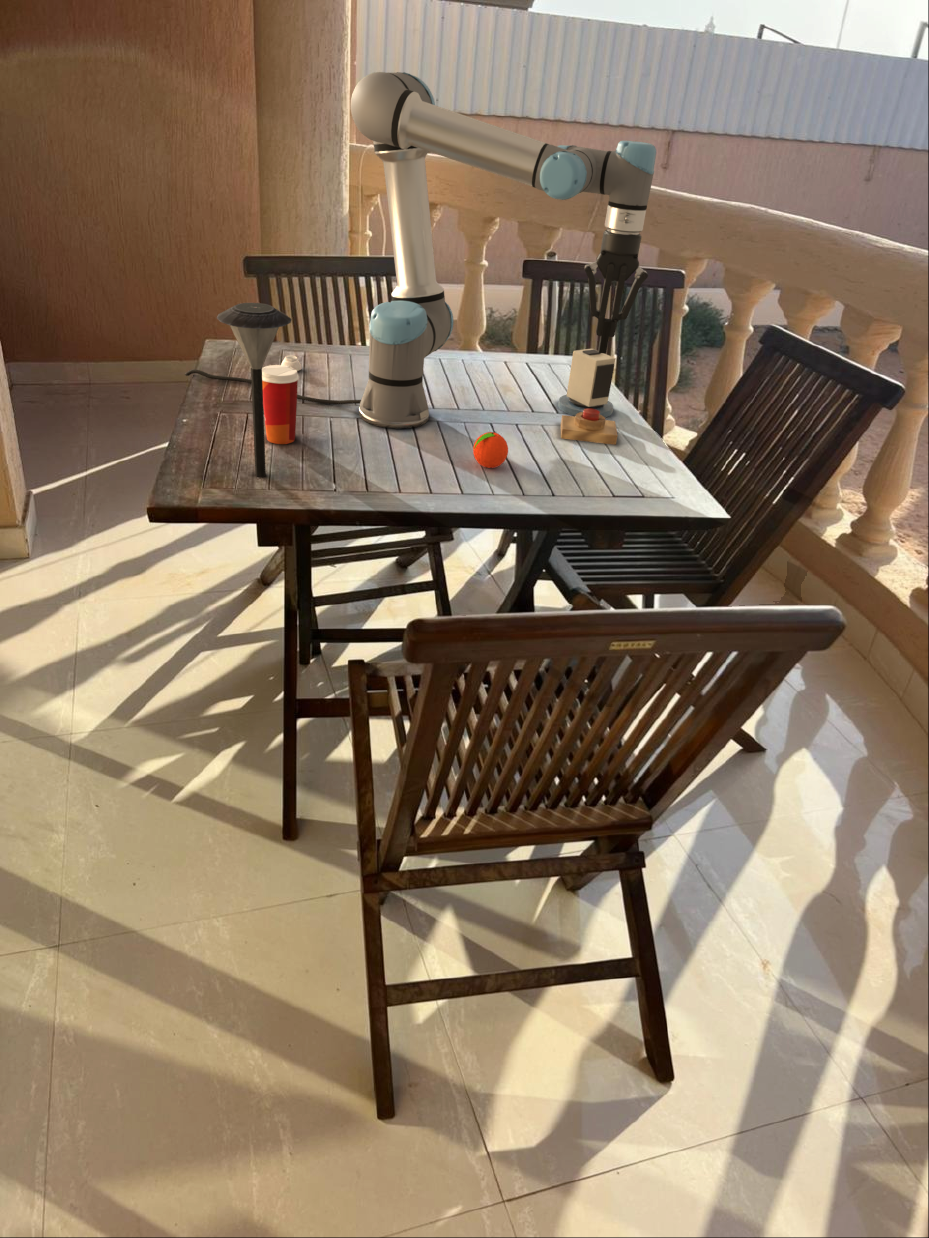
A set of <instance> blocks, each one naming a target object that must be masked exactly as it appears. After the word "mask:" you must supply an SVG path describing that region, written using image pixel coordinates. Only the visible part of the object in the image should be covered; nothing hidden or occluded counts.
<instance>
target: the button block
mask: <svg viewBox="0 0 929 1238" xmlns="http://www.w3.org/2000/svg"><path fill="white" fill-rule="evenodd" d="M582 416H583V412H579V413H577V414H576V416H573V415H564V414H562V415H561V420H560V438H561V439H564V440H570V441H571V440H572V441H581V442H587V443H590V442H591V443H597V444H607V445H614V446H616V445H617V440H618V437H619V435H618V430H617V424H616V421H615V420H608V419H606V417H603V416H602V415H599V420H596V421H591V420H586V419H584V418H582Z"/></svg>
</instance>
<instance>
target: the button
mask: <svg viewBox="0 0 929 1238" xmlns="http://www.w3.org/2000/svg"><path fill="white" fill-rule="evenodd" d="M599 415H600V412H599V411H598V410H596V409H591V408H587V409H584V410H583V416H582V418H584V419H586V420H591V421H596V420H599Z"/></svg>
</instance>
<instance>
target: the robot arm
mask: <svg viewBox="0 0 929 1238" xmlns="http://www.w3.org/2000/svg"><path fill="white" fill-rule="evenodd" d="M350 113H351V118H352V120H353V123H354V125H355V126H356V128H357V130H358V131H359V133H361V134H362V135H363V136H364V137H365V138H367V139H368V140H370V141H373V149H374V154H375V156H377V157H378V158H379V159H380V160H381V162H382V164H383V171H384V172H383V173H384V182H385V190H386V200H387V209H388V217H389V225H390V233H391V243H392V252H393V259H394V260H393V261H394V270H395V276H396V277H395V278H396V286H395V287H394V289H393V290H392V292H391V293H390V296H391V301H390V302H389V301H385V302H382V303H379V304H378V305H376V306H374V308H373V309H372V311H371V312H370V313H371V314H370V321H369V325H368V330H369V345H368V347H369V350H368V380H367V383H366V385H365V389H364V391H363V394H362V397H361V399H344V400H339V399H323V398H315V397H311V396H310V397H309V396H305V395H301V394H297V400H301V401H306V402H311V403H317V404H326V405H359V407H358V415H359V417H360V419H361V420H363V421H364V422H366V423H368V424H371V425H372V426H373V425H374V426H376V427H380V428H387V429H396V430H397V429H398V430H399V429H413V428H417V427H421V426H423V425H424V424H426V423H427V422H429V417H430V409H429V404H428V400H427V397H426V393H425V389H424V384H423V383H424V382H423V381H424V365H425V358H426V357H428V356H430V355H431V354H432V353H434V352H437V351H438V350H440V349H441V348H442V347H444V345H445V344H446V342H447V341H448V340H449V338H450V337H451V335H452V333H453V329H454V314H453V311H452V308H451V307H450V305H449V304H448V303H447V301H446V295H445V288H444V287H443V286H442V285H441V284H440V283H438V281H437V274H436V264H435V263H436V262H435V253H434V243H433V242H434V241H433V233H432V222H431V220H432V219H431V211H430V200H429V198H430V197H429V189H428V188H429V187H428V178H427V177H428V176H427V165H426V157H427V155H428V154H429V153H431V154H434V155H438V156H441V157H444V158H447V159H449V160H452V161H455V162H458V163H461V164H465V165H468V166H471V167H473V168H476V169H480V170H482V171H485V172H487V173H490V174H493V175H497V176H500V177H503V178H506V179H508V180H511V181H514V182H517V183H520V184H523V185H526V186H529V187H532V188H533V189H537V190H539V191H542V192H544V193H545V194H546V195H547V196H548V197H550V198H552V199H554V200H561V201H567V200H570V199H571V198H574V197H576V196H578V195H579V194H582V193H590V194H598V195H606V196H608V202H607V208H606V215H605V221H604V228H606V229H604V231H603V232H602V238H601V245H600V250H599V254H598V255H597V257H596V259H595V261H593V262H591V263H586V264H585V265H584V271H585V274H586V276H587V279H588V294H589V309H590V315H591V316H592V317H594V318H596V319H597V322H596V329H595V332H596V336H597V337H599V343H598V349H597V351H599V353H603V354H607V351H608V350H607V349H608V346H609V339H610V338H615V335H616V331H617V325H618V322H620V321H622V320H627V318H628V316H629V315H630V312H631V310H632V307H633V304H634V302H635V300H636V298H637V295H638V293H639V290H640V288H641V286H642V284H644V282H646V280H647V279H648V277H649V274H648V272H647V270H645V269H644V268H642V267H641V266H640V261H639V253H640V247H641V243H642V238H643V237H642V235H641V234H640V233H642V232H643V231H644V225H645V219H646V213H647V209H648V204H649V198H650V194H651V188H652V183H653V178H654V174H655V164H656V156H657V149H656V146H655V145H654V144H652V143H650V142H643V141H637V140H636V141H634V140H633V141H632V140H620V141H619V142H618V143H617V147H616V148H615V150H604V149H603V150H602V149H597V148H589V147H583V146H577V145H573V144H572V145H564V144H560V145H557V146H556V145H554V144H550V143H547V142H545V141H541V140H538V139H535V138H532V137H531V136H527V135H524V134H521V133H519V132H518V133H517V132H514V131H512V130H509V129H506V128H504V127H501V126H497V125H495V124H491V123H488V122H485V121H483V120H479V119H477V118H475V117H474V118H473V117H471V116H468V115H465V114H462V113H460V112H457V111H454V110H453V111H452V110H450V109H447V108H444V107H441V106H438V105H436V102H435V98H434V94H433V92H432V91H431V89H430V87H429V86H428V85H427V84H426V83H425V81H423V80H422V79H421V78H420V77H418V76H415V75H413V74H411V73H408V72H405V71H404V72H401V71H400V72H399V71H397V72H385V71H377V72H376V71H374V72H372V73H369V74H367V75H365V76H364V77H362V78H361V79H360V80H359V81H358V82H357V84H356V85H355V86H354V88H353V91H352V94H351V98H350ZM597 268H598V269H599V272H600V273H601V276H602V278H603V286H602V292H601V293H602V294H601V298H600V304H599V309H597V293H596V279H595V275H596V274H597V272H598V271H597ZM634 273H635V274H634ZM633 274H634V278H635V279H634V281H633V283H632V285H631V287H630V290H629V292H628V294H627V296H626V300H625V301H624V304H623V307H622V309H621V304H622V298H623V292H624V288H625V282H626V281H628V279H629V278H630V277H631V276H632V275H633ZM612 282H616V286H615V293H614V297H613V304H612V309H611V314H610V315H611V317H610V318H606V314H607V310H608V303H609V297H610V293H611V287H612ZM620 309H621V311H620ZM192 374H198V375H200V376H202V377H205V378H208V379H210V380H216V381H217V380H218V381H226V382H239V383H246V384H251V385H252V383H251V378H244V377H235V376H225V375H216V374H211V373H207V372H205V371H203V370H200V369H196V368H195V369H189V370H187V371H186V372H185V373H184V376H186V377H189V376H191V375H192Z"/></svg>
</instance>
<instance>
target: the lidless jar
mask: <svg viewBox="0 0 929 1238" xmlns="http://www.w3.org/2000/svg"><path fill="white" fill-rule="evenodd" d="M280 365H285V366H289V367H291V368H294V369H295V370H297V372H299V371H301V370H302V369H303V366H302V364H301V361H299V359H298V357H297V356H295V355H285V356H284V359H283V360H282V362H281V364H280Z"/></svg>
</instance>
